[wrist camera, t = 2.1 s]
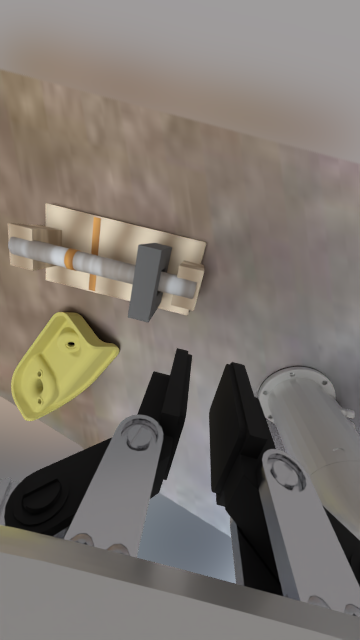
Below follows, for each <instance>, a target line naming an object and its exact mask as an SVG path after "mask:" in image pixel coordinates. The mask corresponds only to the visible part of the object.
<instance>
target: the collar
mask: <svg viewBox="0 0 360 640" xmlns="http://www.w3.org/2000/svg"><path fill="white" fill-rule="evenodd" d="M171 251H172V247H170V246H166V245H162V244H158V243H149V244H141V245H138V251H137V258H136V265H135V271H134V278H133V285H132V292H131V299H130V305H129V312H128V317H129V318H133V319H137V320H141V321H145V322H149V320H150V319H151V317H152V316H153V314H154V313H155V311H156V310H157V308H158V307H159V305H160V303H161V300H162V295H163V292H161V291H158V286H159V281H160V275H161V271H162V272H166V273H167V271H168V266H169V261H170V256H171Z"/></svg>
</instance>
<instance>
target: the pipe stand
mask: <svg viewBox="0 0 360 640" xmlns="http://www.w3.org/2000/svg"><path fill="white" fill-rule="evenodd" d="M8 236H9V242H8V248H9V252H10V265H13V266H17V267H21V268H25V269H29V270H33V271H34V270H39V269H44V268H46V280H48V281H52V282H56V283H60V284H64V285H68V286H72V287H76V288H80V289H84V290H88V291H92V292H96V293H100V294H104V295H108V296H112V297H116V298H120V299H124V300H128V301H130V299H131V292H132V285H133V278H134V271H135V265H136V258H137V251H138V245H141V244H149V243H158V244H162V245H166V246H170V247H172V251H171V256H170V261H169V266H168V271H167V273H166V272H162V271H161V275H160V281H159V286H158V291H161V292H163V295H162V300H161V303H160V305H159V307H158V308H160V309H164V310H168V311H172V312H176V313H179V314H183V315H187V316H188V312H189V310H193V311H194V308H195V304H196V301H197V297H198V293H199V289H200V286H201V282H202V278H203V274H204V265H201V262H202V258H203V254H204V250H205V246H206V242H202V241H198V240H194V239H190V238H186V237H182V236H178V235H174V234H170V233H166V232H162V231H157V230H153V229H149V228H145V227H141V226H137V225H133V224H129V223H125V222H121V221H117V220H113V219H109V218H105V217H101V216H96V215H92V214H88V213H84V212H80V211H76V210H72V209H68V208H64V207H60V206H56V205H52V204H47V203H46V226H43V225H30V224H16V223H8Z"/></svg>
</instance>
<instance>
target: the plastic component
mask: <svg viewBox="0 0 360 640" xmlns="http://www.w3.org/2000/svg"><path fill="white" fill-rule="evenodd" d="M69 342H74V345H70V344H69ZM118 353H119V348H118V347H117V346H116V345H115V344H113V343H105V342H103V341H101V340H100V339H99V338H98V337H97V336H96V335H95V333H94V332H93V331H92V329H91V328H90V327H89V325H88V324H87V323H86V321H85V320H84V319H83V317H82V316H81V315H79V314H78V313H70V312H58V313H56V314H54V315H53V317H52V318H51V319H50V321H49V322H48V324H47V325H46V326H45V328H44V329H43V330H42V332H41V333H40V335H39V336H38V337H37V339H36V340H35V342H34V343H33V344H32V346H31V347H30V348H29V350H28V351H27V353H26V354H25V355H24V357H23V358H22V360H21V361H20V363H19V364H18V366H17V367H16V369H15V371H14V374H13V377H12V382H11V390H12V396H13V399H14V401H15V403H16V405H17V407H18V409H19V411H20V412H21V414H22V416H23V418H24V419H25V420H27V421H33V420H36V419H38V418H40V417H42V416H44V415H46V414H48V413H50V412H52V411H54V410H56V409H57V408H59V407H61V406H63V405H64V404H66V403H67V402H69V401H70V400H72V399H73V398H75V397H76V396H78V395H79V394H80V393H82V392H83V391H84V390H85V389H86V388H88V387H89V386H90V385H91V384H92V383H93V382H94V381H95V380H96V379H97V378H98V377H99V375H100V374H101V373H102V372H103V371H104V370H105V369H106V368H107V366H108V365H109V364H110V363H111V362H112V361H113V360H114V359H115V357H116V356H117V355H118Z"/></svg>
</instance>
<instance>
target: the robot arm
mask: <svg viewBox="0 0 360 640" xmlns="http://www.w3.org/2000/svg"><path fill="white" fill-rule="evenodd" d="M191 361H192V355H189V354H188V351H186V350H182V349H178V348H177V350H176V354H175V358H174V362H173V366H172V370H171V374H170V375H166V374H162V373H158V372H153V374H152V377H151V380H150V382H149V385H148V388H147V390H146V393H145V396H144V398H143V401H142V404H141V406H140V409H139V412H138V414H137V415H132V416H130V417H127V418H126V419H124V420H123V421H122V422H121V423H120V424H119V426H118V427H117V429H116V431H115V433H114V435H113V437H112V438H110V439H107V440H105V441H103V442H101V443H98V444H96V445H94V446H92V447H89V448H87V449H85V450H83V451H80V452H78V453H76V454H74V455H72V456H69V457H67V458H65V459H63V460H60V461H58V462H56V463H54V464H51V465H49V466H47V467H44V468H42V469H40V470H38V471H36V472H34V473H32V474H31V475H29V476H27V477H26V478H25V479H24V480H22V481H13V482H11V478H4V479H0V640H360V435H359V433H358V432H357V431H356V430H355V429H356V427H355V424H354V423H353V422H352V421H348V419H347V418H351V419H353V418H354V417H355V413H354V411H353V410H350V409H346V408H341V406H340V405H339V404H338V403H337V401H336V400H335V398H336V395H335V389H334V387H333V385H332V383H331V382H330V381H329V379H328V378H327V377H326V376H325V375H323V374H322V373H321V372H319V371H317V370H314V369H311V368H307V367H290V368H286V369H283V370H280V371H278V372H276V373H274V374H272V375H271V376H270V377H268V378H267V379H266V380H265V381H264V383H263V384H262V385H261V387H260V389H259V393H258V398H256V397H254V394H253V391H252V388H251V385H250V381H249V378H248V375H247V372H246V369H245V366H244V365H242V364H238V363H234V362H232V363H231V364H230V365H229V364H227V365H226V366H225V369H224V372H223V375H222V377H221V380H220V383H219V386H218V388H217V391H216V394H215V397H214V400H213V402H212V405H211V408H210V413H209V425H210V459H211V489H212V492H214V493H216V502H217V505H221V506H224V507H225V510H226V511H227V512H228V514H229V515H230V516H231V517H230V530H231V539H232V549H233V559H234V568H235V577H236V584H234V583H230V582H226V581H223V580H219V579H216V578H212V577H208V576H204V575H201V574H197V573H193V572H189V571H186V570H181V569H178V568H174V567H170V566H166V565H162V564H159V563H155V562H151V561H147V560H143V559H139V558H137V554H138V549H139V545H140V540H141V536H142V531H143V527H144V523H145V518H146V514H147V508H148V505H149V500H150V499H151V498H152V497H153V496H155V495H156V494H158V493H159V491H160V488H161V485H162V481H163V479H164V480H167V477H168V473H169V470H170V467H171V464H172V461H173V457H174V454H175V451H176V448H177V445H178V442H179V438H180V435H181V432H182V429H183V426H184V422H185V417H186V411H187V401H188V391H189V381H190V371H191ZM265 417H266V418H267V419H268V420H269V421H271V422H272V423H274V424H275V425H276V427H277V430H278V433H279V435H280V438H281V440H282V443H283V446H284V448H285V451H286V452H284V451H281V450H278V449H276V448H275V445H274V442H273V439H272V436H271V433H270V430H269V427H268V424H267V421H266V418H265ZM346 417H347V418H346Z"/></svg>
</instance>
